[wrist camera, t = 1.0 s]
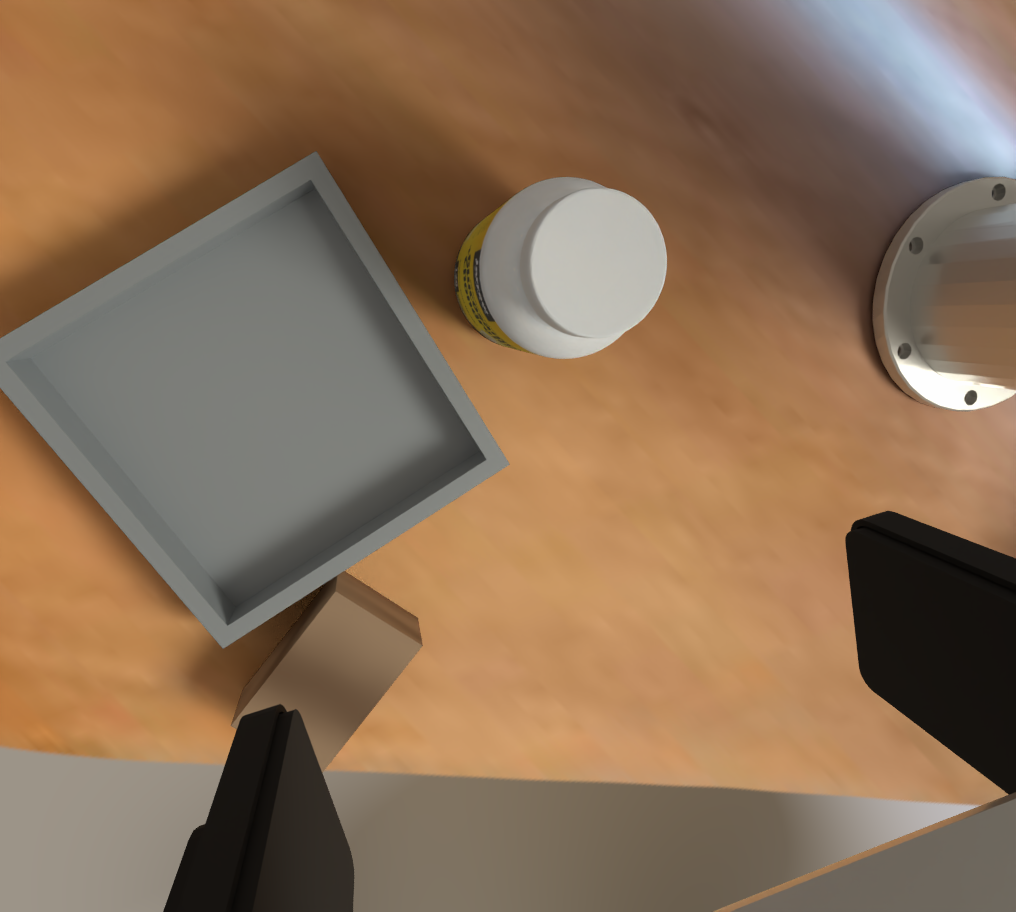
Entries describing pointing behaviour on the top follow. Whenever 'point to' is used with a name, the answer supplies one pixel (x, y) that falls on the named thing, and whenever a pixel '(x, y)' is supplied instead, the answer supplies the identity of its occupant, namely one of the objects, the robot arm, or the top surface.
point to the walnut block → (335, 663)
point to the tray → (252, 401)
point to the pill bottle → (561, 268)
